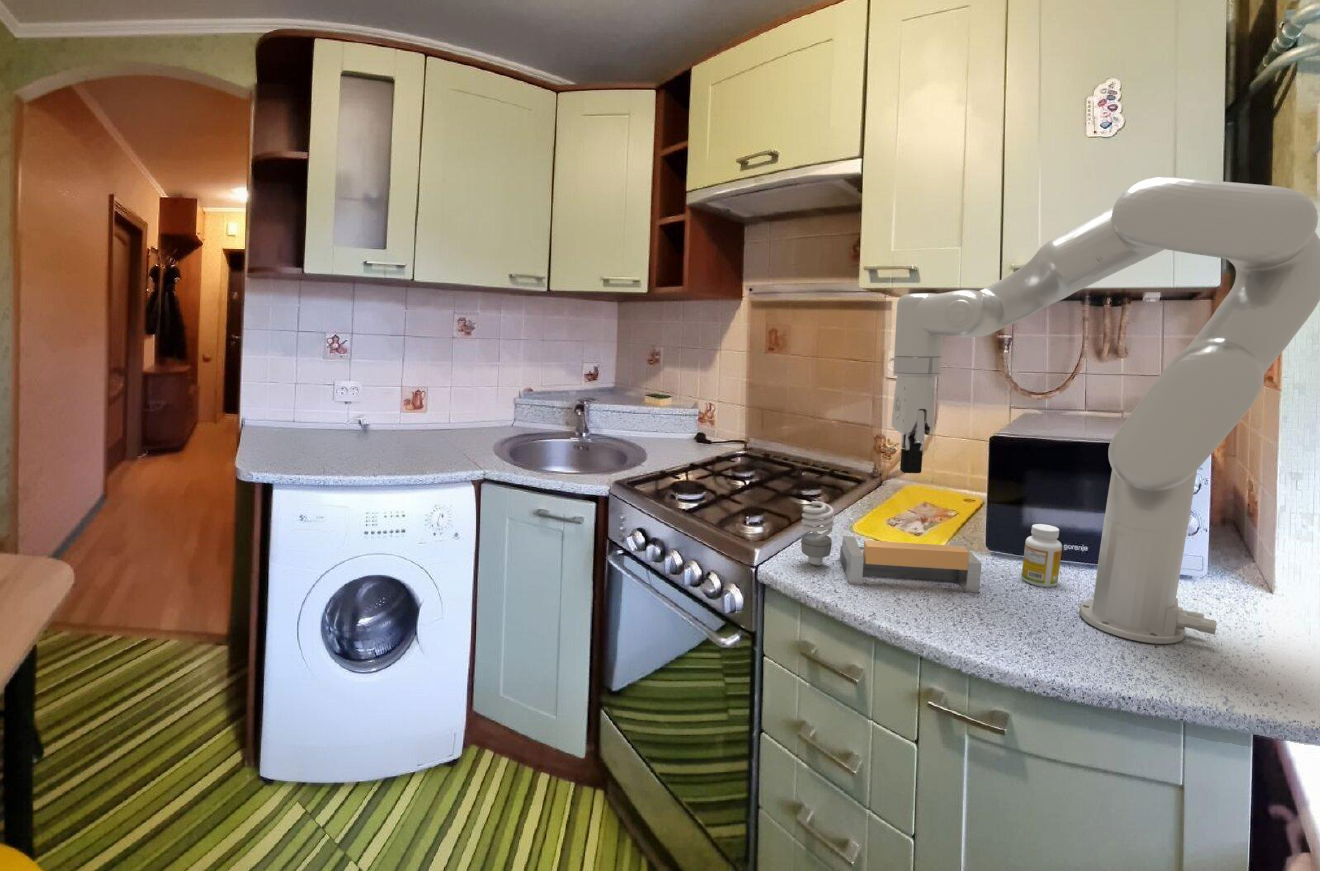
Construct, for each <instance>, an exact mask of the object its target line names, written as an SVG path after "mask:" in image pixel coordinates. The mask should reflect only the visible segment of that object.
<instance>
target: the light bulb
mask: <svg viewBox="0 0 1320 871" xmlns="http://www.w3.org/2000/svg"><path fill="white" fill-rule="evenodd" d="M811 505H812V506H811ZM802 511H803V512H802V513H801V517H802V519H801V523H802V526H801V527H802V529H803V530H804V531H807V532H808V533H804V534H802V536H801V539H800V542H801V543H800V544H801V546H800V547H801V553H802V554H803V555H805V556H806V557H807V558H808V559H807V560H808V562H809V564H811V565H812V566H814V567H817V566H819V565H821V564H822V563H823V559H824V558H826V557H829V556H830V554H831V552H832V551H831V550H832V547H833V546H832V545H833V542H832V540H833V539H832V538H831V537H830V536H829V535H830V534H831V533H832V531H833V527H834V524H835V522H834V520H835V515H834V512H835V510H834V507H832V506H831V505H830V504H828V503H825V502H823V501H818V500H812V501H811V502H810V505H807V506H803V507H802ZM819 532H822V533H819Z"/></svg>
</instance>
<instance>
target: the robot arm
mask: <svg viewBox="0 0 1320 871" xmlns="http://www.w3.org/2000/svg"><path fill="white" fill-rule="evenodd" d="M1318 220H1319V214H1318V210H1317V208H1316V206H1315V204H1314V202H1313V201H1312V200H1311V199H1310V198H1309V197H1308V196H1306V194H1304V193H1302V192H1300V191H1297V190H1295V189H1292V188H1289V187H1288V188H1287V187H1284V186H1276V185H1265V184H1257V183H1256V184H1254V183H1243V182H1232V181H1223V180H1222V181H1221V180H1211V179H1210V180H1209V179H1198V178H1191V177H1180V176H1179V177H1178V176H1155V177H1149V178H1145V179H1142V180H1140V181H1139V182H1136V183H1134V184H1133V185H1130V186H1129V187H1128V188H1127V189H1125V190H1124V191H1123V192H1122V193H1121V195H1120V196H1119V197H1118V198H1117V199H1116V202H1115V203H1114V205H1113V206H1112V207H1110V208H1108V209H1106V210H1104V211H1103V212H1101V213H1099V214H1097V215H1095V216H1093V217H1091V218H1090V219H1087V220H1086V221H1083V222H1082V223H1080V224H1078V225H1076V226H1074V227H1072V228H1071V229H1069V230H1067V231H1065V232H1063V233H1061V234H1060V235H1057V236H1056V237H1053V238H1052V239H1049V240H1048V241H1047V242H1045V243H1044V244H1043V245H1042V246H1041V247H1040V248H1039V249H1038V250H1037V251H1036V253H1035V254H1034V255H1033V256H1032V257H1031V259H1030V260H1029V261H1028V262H1026V263H1025V264H1024V265H1023V266H1021V267H1020V268H1019V269H1017V270H1015V271H1014V272H1013V273H1010V274H1009V275H1007V276H1006V277H1003V278H1001V279H1000V280H998V281H995V282H994V283H992V284H990V285H987V286H986V287H984V288H983V289H980V290H973V289H960V290H953V291H948V292H941V293H934V292H925V293H924V292H922V293H921V292H920V293H917V292H916V293H915V292H914V293H907V294H903V295H901V296H900V297H899V298H898V300H897V304H896V318H895V335H894V336H895V337H894V338H895V339H894V350H893V351H894V356H893V374H892V375H893V376H894V377H895V376H896V380H895V386H894V392H893V393H894V395H893V406H892V415H891V427H892V428H893V430H894V431H895V430H896V431H897V432H898V433H900V434H901V449H900V466H899V467H900V468H899V470H900V471H901V472H902V473H903V474H921V473H922V467H923V452H924V451H923V449H924V443H925V435H926V436H929V435H930V434H932V433H933V428H934V420H935V402H936V401H935V400H936V394H935V392H936V386H935V384H936V382H935V379H936V378H937V377H941V371H942V370H941V368H942V354H943V339H944V338H943V337H944V336H946V337H953V338H961V339H962V338H963V339H965V338H969V339H970V338H981V337H985V336H989V335H991V334H993V333H996V332H997V331H998V332H999V331H1000V330H1002V329H1004V328H1007V327H1008V326H1011V325H1013V324H1015V323H1017V322H1019V321H1022V320H1023V319H1026V318H1028V317H1029V316H1031V315H1033V314H1036V313H1038V312H1039V311H1041V310H1043V309H1044V308H1047V307H1049V306H1051V305H1053V304H1055V303H1057V302H1059V301H1062V300H1064V299H1066V298H1068V297H1069V296H1071V295H1073V294H1074V293H1077V292H1079V291H1081V290H1083V289H1085V288H1088V287H1089V286H1091V285H1093V284H1095V283H1098V282H1099V281H1101V280H1103V279H1105V278H1107V277H1109V276H1111V275H1114V274H1115V273H1117V272H1120V271H1122V270H1124V269H1126V268H1128V267H1131V266H1133V265H1135V264H1138V263H1139V262H1142V261H1143V260H1146V259H1148V258H1149V257H1152V256H1154V255H1156V254H1158V253H1160V252H1162V251H1165V250H1167V251H1171V252H1172V251H1173V252H1179V253H1185V254H1190V255H1199V256H1206V257H1212V258H1217V259H1218V258H1220V259H1223V260H1224V259H1225V260H1227V261H1228V262H1229V263H1231V265H1233V267H1234V270H1235V279H1234V283H1233V285H1232V288H1231V289H1230V290H1229V292H1228V294H1227V295H1226V296H1225V297H1224V298H1223V300H1222V301H1221V302H1220V304H1219V305H1218V307H1217V308H1216V309H1215V311H1214V313H1213V314H1212V315H1211V317H1210V318H1209V319H1208V320H1207V322H1206V323H1205V325H1204V326H1203V327H1202V328H1201V330H1200V331H1199V332H1198V334H1197V335H1196V336H1195V337H1194V339H1192V341H1191V342H1190V343H1189V344H1188V345H1187V347H1186V348H1185V349H1183V350H1181V352H1180V353H1178V354H1177V355H1176V356H1174V357H1173V359H1172V360H1171V361H1170V362H1169V363H1168V365H1167V366H1166V367H1165V368H1164V370H1163V371H1162V372H1161V374H1160V375H1159V376H1158V377H1157V379H1156V380H1155V382H1154V383H1153V384H1152V386H1151V387H1150V388H1149V390H1148V391H1147V392H1146V393H1145V394H1144V396H1143V397H1142V398H1141V400H1140V402H1138V403H1137V405H1136V406H1135V408H1134V409H1133V410H1132V412H1131V413H1130V415H1129V416H1128V417H1127V418H1126V419H1125V421H1124V422H1123V424H1121V426H1120V427H1119V428H1118V430H1117V431H1116V432H1115V434H1114V435H1113V436H1112V438H1111V440H1110V442H1109V446H1108V450H1107V451H1108V453H1107V454H1108V455H1107V456H1108V462H1109V464H1110V468H1111V473H1110V474H1111V475H1110V479H1109V481H1110V482H1109V486H1108V493H1107V499H1106V506H1105V507H1106V508H1105V514H1104V518H1103V525H1102V532H1101V539H1100V540H1101V541H1100V547H1099V553H1098V561H1097V562H1098V563H1097V568H1096V575H1095V576H1096V577H1095V584H1094V591H1093V598H1092V599H1088V600H1085V601H1083V602H1082V603H1080V604H1079V609H1078V610H1079V611H1078V613H1079V615H1080V617H1081V618H1082V619H1083V621H1085V622H1086V623H1088V624H1089V625H1091V626H1092V627H1094V628H1096V629H1098V630H1100V631H1102V632H1105V633H1107V634H1109V635H1113V636H1116V637H1120V638H1124V639H1127V640H1131V641H1135V642H1142V643H1146V644H1147V643H1148V644H1155V645H1156V644H1158V645H1162V644H1163V645H1166V644H1167V645H1168V644H1175V643H1178V642H1181V641H1183V640H1184V639H1185V634H1186V629H1187V628H1188V629H1191V630H1195V631H1198V632H1201V633H1204V634H1205V633H1206V634H1209V635H1214V636H1215V634H1216V629H1217V620H1214V619H1209V618H1205V617H1204V616H1205V613H1202V612H1201V613H1200V612H1195V611H1189V610H1186V609H1185V610H1184V609H1183V607H1180V606H1179V599H1178V598H1177V594H1178V588H1179V582H1180V577H1181V570H1182V564H1183V557H1184V551H1185V544H1186V539H1187V533H1188V530H1189V523H1190V516H1191V509H1192V504H1193V498H1194V492H1195V484H1196V479H1197V472H1198V470H1199V469H1200V467H1201V466H1202V465H1203V464H1204V463H1205V462H1206V461H1207V459H1208V458H1210V456H1211V455H1212V454H1213V453H1214V451H1215V450H1216V449H1217V448H1218V447H1219V446H1220V444H1221V443H1222V442H1223V441H1224V440H1225V438H1227V436H1228V435H1229V434H1230V433H1231V432H1232V431H1233V429H1234V428H1235V427H1236V426H1237V425H1238V424H1239V422H1240V421H1241V420H1242V419H1243V418H1244V416H1245V415H1246V414H1247V413H1248V412H1249V411H1250V409H1251V408H1252V406H1253V405H1254V403H1255V402H1256V400H1257V399H1258V398H1259V396H1260V394H1261V392H1262V391H1263V390H1262V389H1263V387H1264V375H1266V374H1267V371H1268V370H1269V369H1270V368H1271V366H1272V365H1273V364H1274V363H1275V361H1276V360H1277V359H1278V358H1279V357H1280V355H1281V354H1282V353H1283V351H1284V350H1285V349H1287V347H1288V345H1289V344H1290V343H1291V341H1292V340H1293V338H1294V337H1295V336H1296V335H1297V333H1298V332H1299V331H1300V329H1301V328H1302V327H1303V325H1304V324H1305V323H1306V322H1307V321H1308V319H1309V318H1310V316H1311V315H1312V314H1313V312H1314V311H1315V309H1316V307H1317V306H1318V305H1319V303H1320V237H1319V235H1318V233H1317V232H1316V230H1317V227H1318V222H1319V221H1318Z"/></svg>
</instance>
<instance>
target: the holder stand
mask: <svg viewBox="0 0 1320 871" xmlns="http://www.w3.org/2000/svg"><path fill="white" fill-rule="evenodd" d="M948 545H951V546H964V547H965V548H966V549H967V550H968V551H969V562H968V570H959V569H942V568H926V567H909V566H893V565H877V564H866V563H865V561H864V556H863V549H864V546H860V545H859V544H858V542H857V540H856V538H855V536H852V535H851V536H850V535H849V536H848V535H842V542H841V545H840V550H839V551H840V552H839V560H840V563H841V566H842V568H843V571H844V573H845V575H846V579H847V580H848V584H849V585H858V586H861V585H863V577H871V578H872V577H873V578H874V577H875V578H890V579H903V580H904V579H906V580H918V581H919V580H920V581H935V582H936V581H937V582H951V583H952V582H953V583H958V584H959V585H960V586H961V587H962V590H964V591H965V593H967V592H970V593H979V591H980V583H981V573H982V565H983V564H982V562H981V561H980V560H979V559H978V558H977V557H976V556H975V554H973V553H972V552H971V551H970V549H968V547H966V545H965V544H964V543H963V542H958V541H957V542H956V541H949V544H948Z"/></svg>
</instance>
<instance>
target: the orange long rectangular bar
mask: <svg viewBox="0 0 1320 871" xmlns="http://www.w3.org/2000/svg"><path fill="white" fill-rule="evenodd" d="M964 546H965V545H964ZM964 546H951V545H949V544H947V545H946V544H931V543H912V542H911V543H910V542H896V541H895V542H893V541H879V540H878V541H877V540H875V541H874V540H863V547H864V549H863V556H864V561H865V563H866V564H877V565H893V566H909V567H926V568H942V569H959V570H968V562H969V551H970V550H969V549H968V548H967V547H966V546H965V547H966V548H967V549H968V550H969V551H968V550H967V549H966V548H965V547H964Z"/></svg>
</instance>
